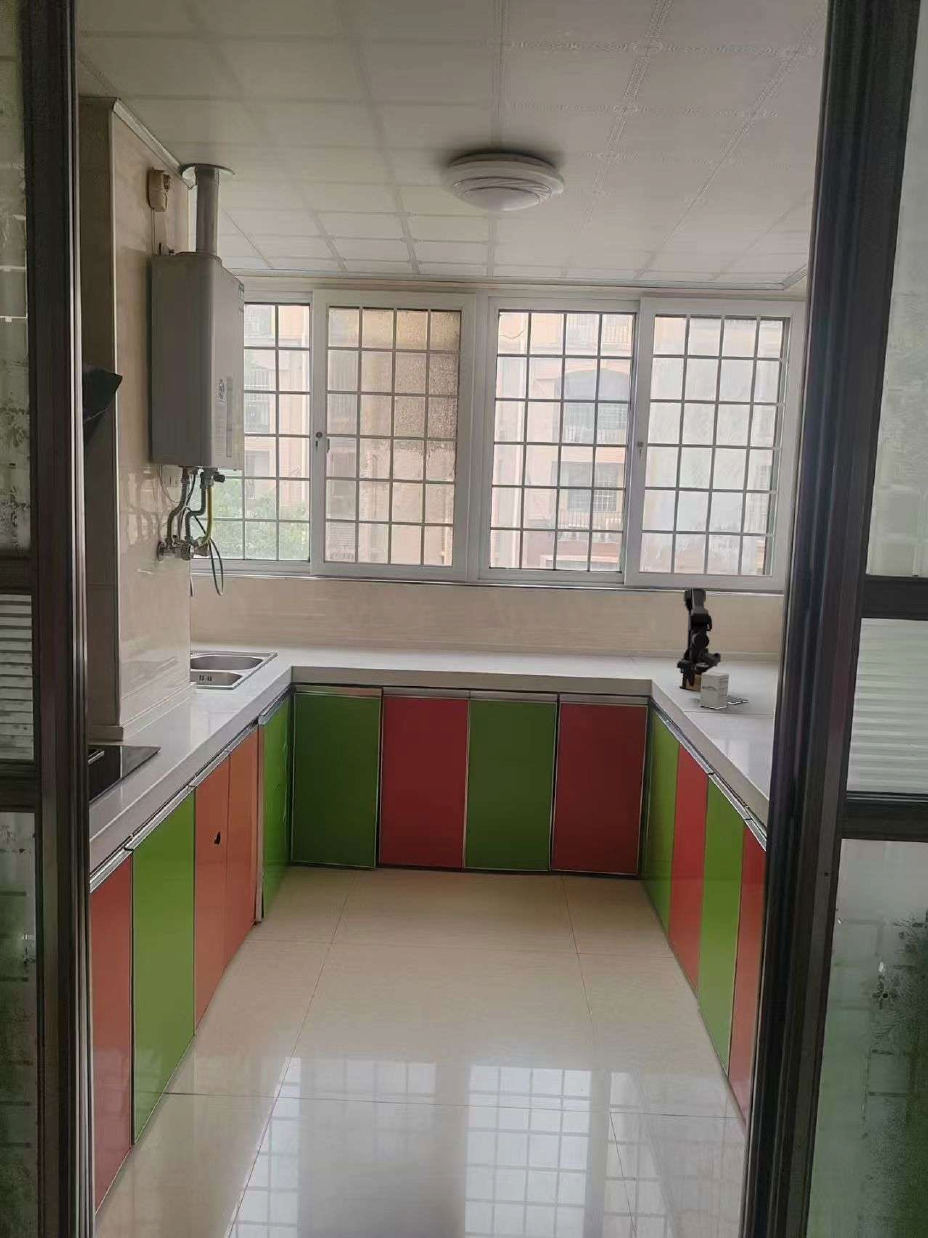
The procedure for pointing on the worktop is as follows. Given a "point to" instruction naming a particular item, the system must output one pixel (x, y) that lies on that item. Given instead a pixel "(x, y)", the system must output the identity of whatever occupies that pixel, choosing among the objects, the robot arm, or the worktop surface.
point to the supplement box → (714, 689)
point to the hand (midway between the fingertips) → (695, 685)
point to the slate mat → (735, 699)
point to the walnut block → (695, 683)
